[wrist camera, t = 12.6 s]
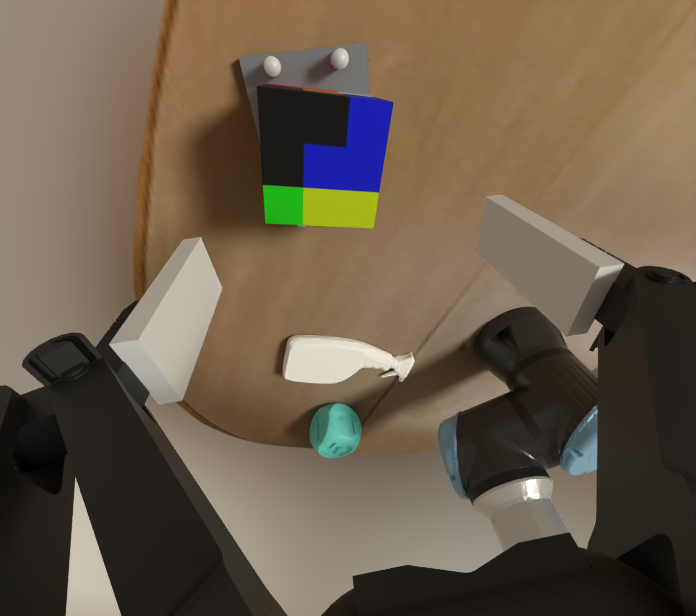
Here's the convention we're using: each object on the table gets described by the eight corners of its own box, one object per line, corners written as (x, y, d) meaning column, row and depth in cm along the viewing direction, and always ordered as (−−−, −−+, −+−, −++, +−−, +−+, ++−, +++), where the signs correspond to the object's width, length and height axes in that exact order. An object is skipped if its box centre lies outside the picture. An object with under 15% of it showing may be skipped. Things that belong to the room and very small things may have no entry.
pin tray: (371, 207, 39) (379, 219, 36) (279, 220, 38) (278, 233, 35) (365, 43, 29) (374, 39, 26) (240, 57, 28) (233, 55, 25)
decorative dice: (327, 398, 63) (331, 434, 56) (358, 407, 66) (365, 442, 60) (308, 419, 66) (309, 455, 60) (338, 426, 70) (342, 461, 63)
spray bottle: (289, 328, 50) (419, 341, 57) (280, 372, 56) (398, 378, 63) (289, 340, 48) (425, 352, 55) (280, 384, 54) (403, 390, 61)
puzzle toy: (368, 95, 31) (393, 102, 23) (356, 195, 37) (373, 228, 29) (266, 83, 29) (256, 85, 21) (272, 190, 35) (265, 223, 27)
